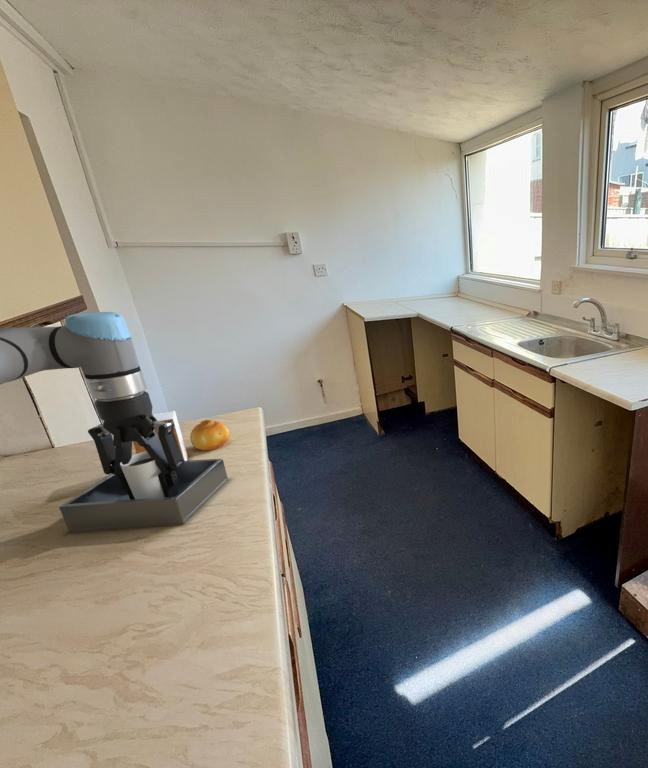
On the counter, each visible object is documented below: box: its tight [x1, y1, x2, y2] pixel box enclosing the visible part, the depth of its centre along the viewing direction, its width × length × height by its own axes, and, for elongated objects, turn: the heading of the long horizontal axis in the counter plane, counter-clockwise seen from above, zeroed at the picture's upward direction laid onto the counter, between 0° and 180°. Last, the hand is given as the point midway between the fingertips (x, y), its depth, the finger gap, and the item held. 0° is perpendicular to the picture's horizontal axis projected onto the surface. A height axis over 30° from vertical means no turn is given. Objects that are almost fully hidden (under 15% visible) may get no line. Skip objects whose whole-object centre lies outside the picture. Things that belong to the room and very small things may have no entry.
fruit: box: [189, 419, 230, 451], centre depth 106 cm, size 8×8×8 cm
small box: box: [132, 410, 188, 461], centre depth 95 cm, size 8×6×13 cm
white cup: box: [120, 451, 165, 499], centre depth 81 cm, size 7×7×10 cm
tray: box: [58, 458, 229, 534], centre depth 81 cm, size 20×16×6 cm
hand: (156, 499), depth 82 cm, fingers closed on white cup, 6 cm apart
